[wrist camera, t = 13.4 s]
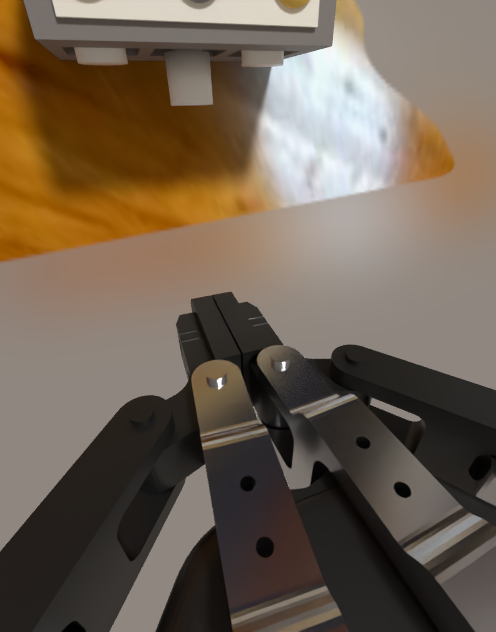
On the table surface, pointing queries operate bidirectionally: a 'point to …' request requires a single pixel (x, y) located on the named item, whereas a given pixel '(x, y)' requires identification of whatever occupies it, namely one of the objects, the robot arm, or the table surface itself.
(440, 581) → the robot arm
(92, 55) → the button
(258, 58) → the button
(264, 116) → the table surface
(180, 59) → the button middle
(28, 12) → the button box
